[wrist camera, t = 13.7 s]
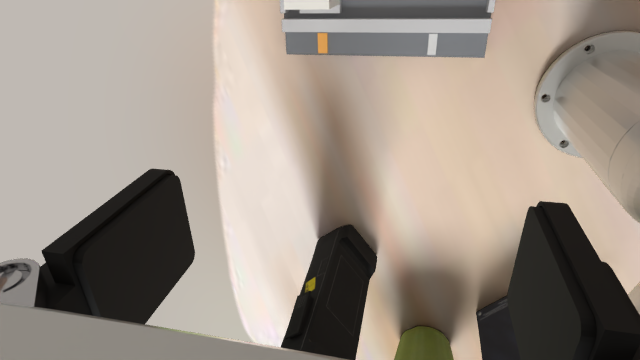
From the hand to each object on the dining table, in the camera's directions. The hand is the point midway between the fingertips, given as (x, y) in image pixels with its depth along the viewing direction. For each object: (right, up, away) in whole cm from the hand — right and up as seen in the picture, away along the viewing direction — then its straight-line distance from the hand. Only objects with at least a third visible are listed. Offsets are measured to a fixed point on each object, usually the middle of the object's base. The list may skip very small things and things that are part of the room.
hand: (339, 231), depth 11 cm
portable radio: (+3, -8, +46) cm, 46 cm away
